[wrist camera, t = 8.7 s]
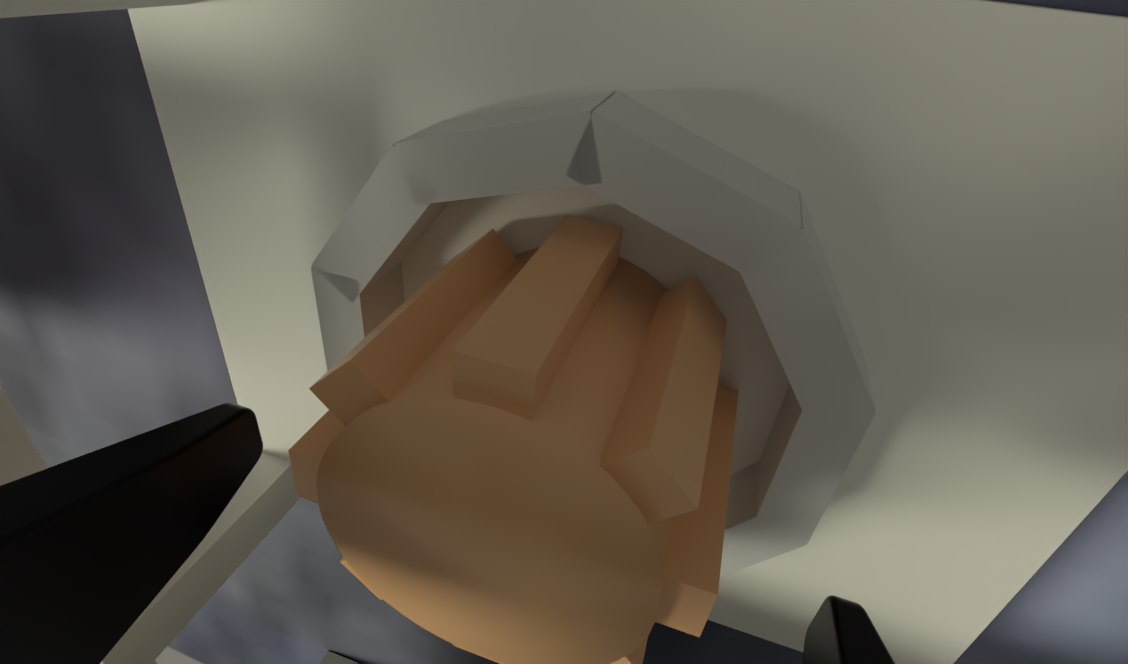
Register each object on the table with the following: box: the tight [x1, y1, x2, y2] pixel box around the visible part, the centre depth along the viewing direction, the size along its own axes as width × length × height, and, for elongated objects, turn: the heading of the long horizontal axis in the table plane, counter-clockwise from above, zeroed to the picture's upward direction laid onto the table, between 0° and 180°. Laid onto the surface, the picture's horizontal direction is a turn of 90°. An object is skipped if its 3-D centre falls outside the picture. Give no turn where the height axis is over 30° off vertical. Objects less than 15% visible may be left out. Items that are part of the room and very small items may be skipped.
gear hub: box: [288, 215, 739, 664], centre depth 10 cm, size 6×6×5 cm
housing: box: [0, 0, 1128, 664], centre depth 14 cm, size 19×28×7 cm
